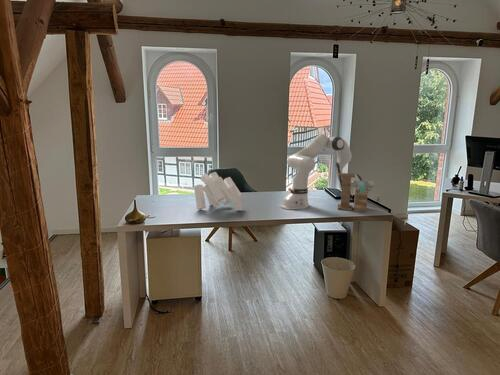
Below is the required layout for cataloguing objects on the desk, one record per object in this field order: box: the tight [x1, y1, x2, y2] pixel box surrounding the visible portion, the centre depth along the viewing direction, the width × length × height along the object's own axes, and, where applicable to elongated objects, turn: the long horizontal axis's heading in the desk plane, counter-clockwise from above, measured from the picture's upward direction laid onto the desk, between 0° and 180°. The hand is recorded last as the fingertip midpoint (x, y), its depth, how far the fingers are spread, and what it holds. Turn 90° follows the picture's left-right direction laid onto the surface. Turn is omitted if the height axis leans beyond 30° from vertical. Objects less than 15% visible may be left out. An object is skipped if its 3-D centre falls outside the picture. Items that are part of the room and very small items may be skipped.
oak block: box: [353, 188, 369, 213], centre depth 259 cm, size 12×8×15 cm, turn 166°
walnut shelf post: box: [337, 172, 356, 211], centre depth 260 cm, size 10×12×26 cm
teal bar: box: [358, 182, 365, 193], centre depth 257 cm, size 22×4×4 cm, turn 166°
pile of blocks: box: [193, 171, 244, 212], centre depth 263 cm, size 35×30×35 cm
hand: (360, 180), depth 268 cm, fingers open, 8 cm apart
